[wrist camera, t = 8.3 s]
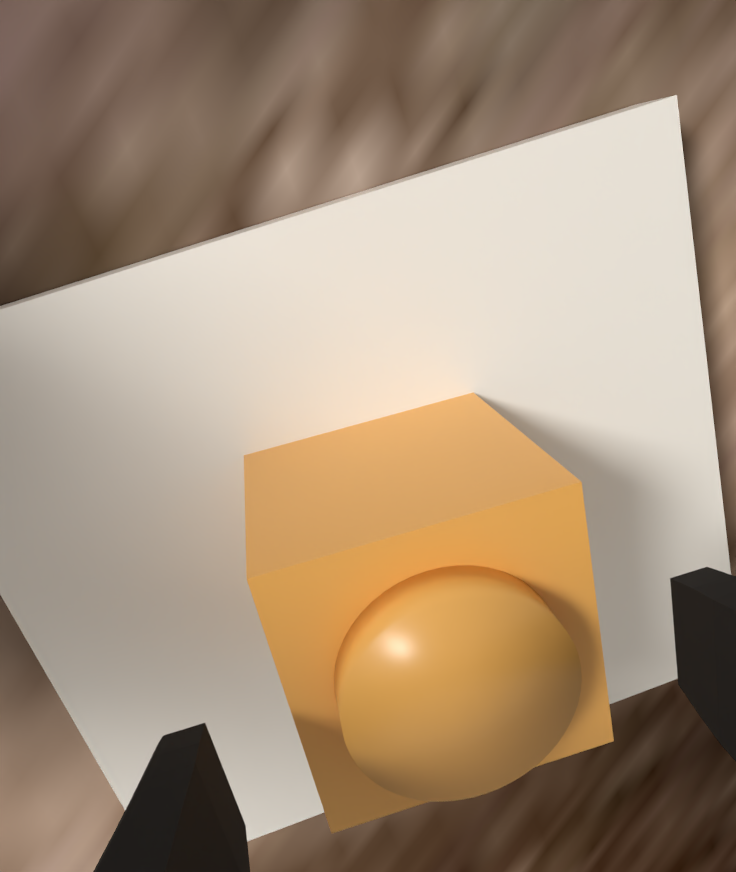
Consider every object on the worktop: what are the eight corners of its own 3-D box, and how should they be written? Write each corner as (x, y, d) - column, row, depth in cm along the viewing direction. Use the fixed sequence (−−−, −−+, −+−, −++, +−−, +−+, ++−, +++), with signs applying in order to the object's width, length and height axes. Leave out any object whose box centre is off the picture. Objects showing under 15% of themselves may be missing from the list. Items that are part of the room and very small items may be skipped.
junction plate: (167, 823, 19) (143, 1028, 14) (-102, 338, 14) (-273, 408, 9) (704, 622, 20) (847, 752, 15) (635, 104, 15) (816, 62, 10)
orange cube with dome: (304, 649, 16) (338, 877, 11) (243, 455, 14) (247, 611, 9) (507, 588, 17) (638, 777, 11) (473, 392, 15) (608, 504, 9)
